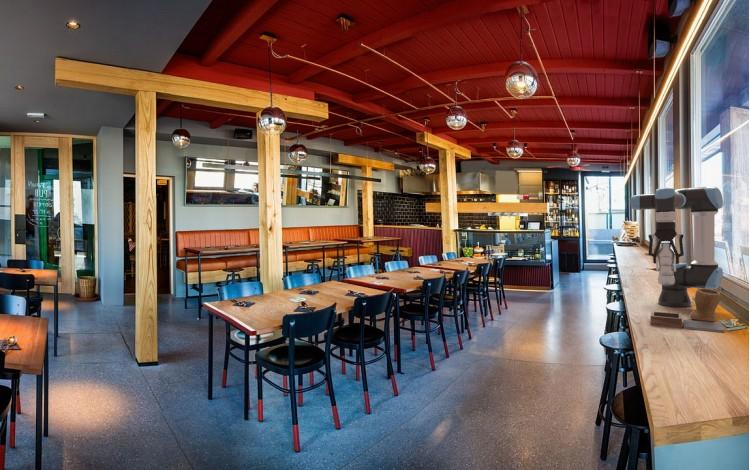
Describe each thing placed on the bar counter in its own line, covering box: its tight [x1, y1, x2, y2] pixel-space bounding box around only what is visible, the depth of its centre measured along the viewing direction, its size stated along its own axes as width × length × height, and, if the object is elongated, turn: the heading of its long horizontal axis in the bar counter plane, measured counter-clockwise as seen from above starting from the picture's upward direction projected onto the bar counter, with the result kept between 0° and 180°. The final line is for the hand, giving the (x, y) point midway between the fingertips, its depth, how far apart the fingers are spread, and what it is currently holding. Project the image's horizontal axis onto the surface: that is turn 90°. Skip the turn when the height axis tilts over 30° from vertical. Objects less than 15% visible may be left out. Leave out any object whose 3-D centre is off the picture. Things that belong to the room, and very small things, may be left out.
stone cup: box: [688, 288, 722, 322], centre depth 201 cm, size 15×12×15 cm
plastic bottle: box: [657, 242, 675, 286], centre depth 196 cm, size 6×7×20 cm
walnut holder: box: [650, 310, 683, 329], centre depth 197 cm, size 12×12×4 cm
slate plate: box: [682, 319, 725, 333], centre depth 189 cm, size 14×14×1 cm
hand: (666, 270), depth 196 cm, fingers closed on plastic bottle, 6 cm apart
